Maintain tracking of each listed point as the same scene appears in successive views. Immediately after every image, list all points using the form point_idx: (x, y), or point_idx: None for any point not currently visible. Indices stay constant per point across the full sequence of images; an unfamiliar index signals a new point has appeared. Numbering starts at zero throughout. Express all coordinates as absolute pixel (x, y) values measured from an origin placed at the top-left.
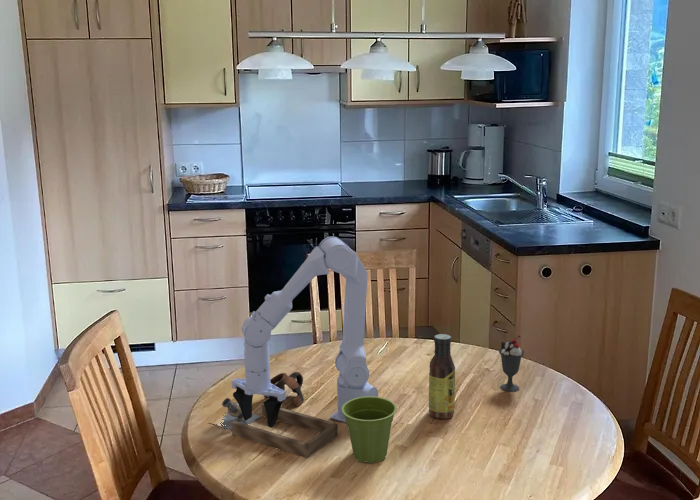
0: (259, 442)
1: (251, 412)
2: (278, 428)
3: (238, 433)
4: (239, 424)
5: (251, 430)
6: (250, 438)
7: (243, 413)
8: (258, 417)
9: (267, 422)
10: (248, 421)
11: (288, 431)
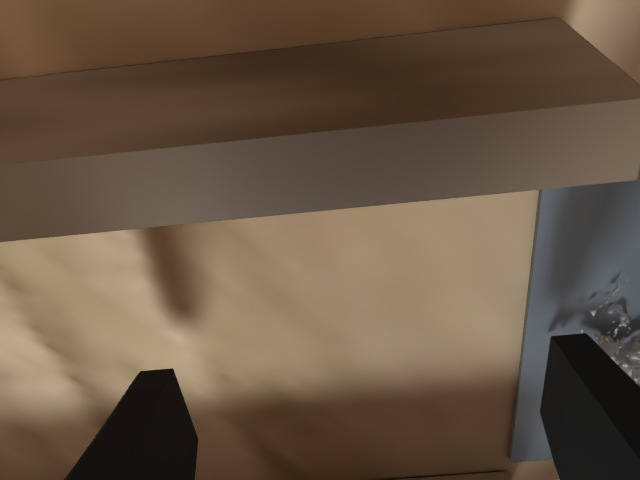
0: (23, 83)
1: (560, 466)
2: (189, 411)
3: (438, 49)
4: (448, 135)
5: (120, 134)
6: (185, 68)
7: (621, 403)
8: (519, 441)
9: (152, 416)
10: None
11: (64, 421)
